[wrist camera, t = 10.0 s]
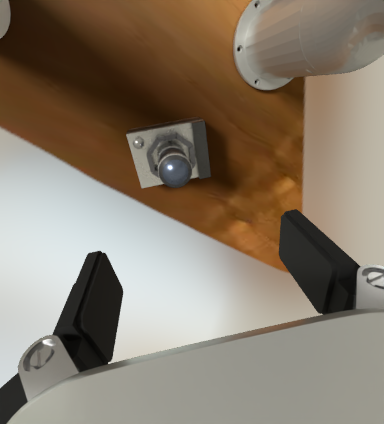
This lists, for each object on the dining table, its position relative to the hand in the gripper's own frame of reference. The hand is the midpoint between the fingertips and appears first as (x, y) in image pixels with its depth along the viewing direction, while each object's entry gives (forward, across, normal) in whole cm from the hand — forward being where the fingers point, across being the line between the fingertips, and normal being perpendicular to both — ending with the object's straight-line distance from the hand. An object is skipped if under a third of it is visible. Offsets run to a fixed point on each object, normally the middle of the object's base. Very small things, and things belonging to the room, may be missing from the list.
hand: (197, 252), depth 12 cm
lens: (+27, 0, +2) cm, 27 cm away
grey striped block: (+32, +1, +2) cm, 32 cm away
